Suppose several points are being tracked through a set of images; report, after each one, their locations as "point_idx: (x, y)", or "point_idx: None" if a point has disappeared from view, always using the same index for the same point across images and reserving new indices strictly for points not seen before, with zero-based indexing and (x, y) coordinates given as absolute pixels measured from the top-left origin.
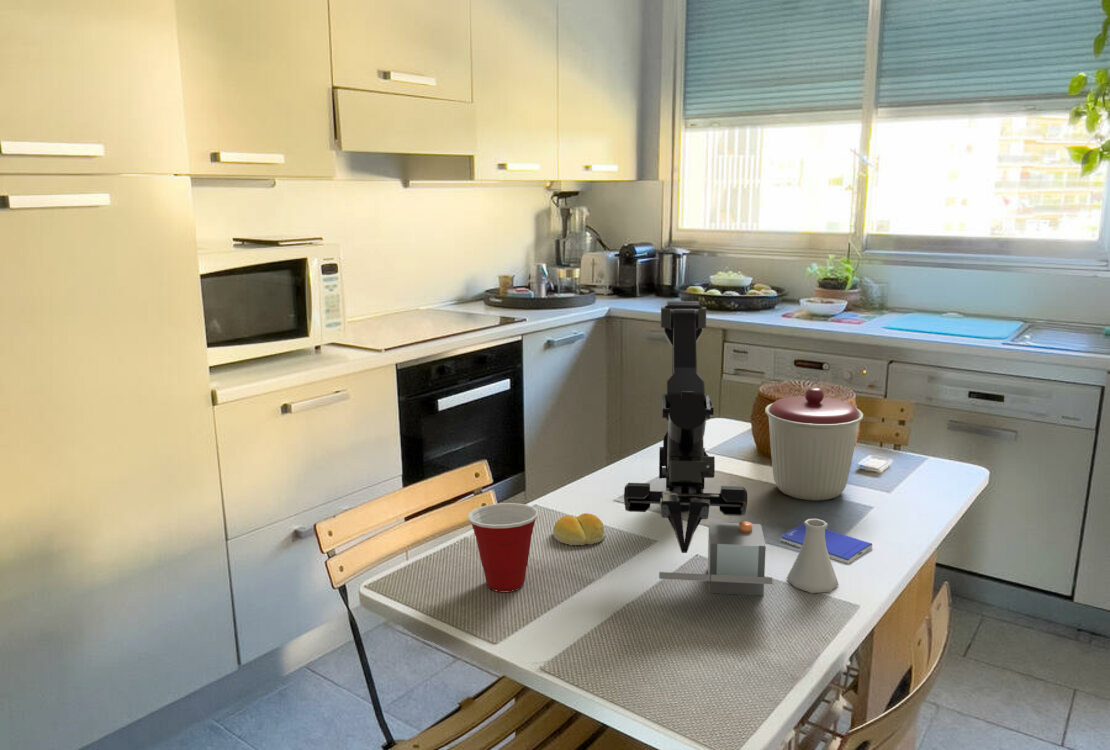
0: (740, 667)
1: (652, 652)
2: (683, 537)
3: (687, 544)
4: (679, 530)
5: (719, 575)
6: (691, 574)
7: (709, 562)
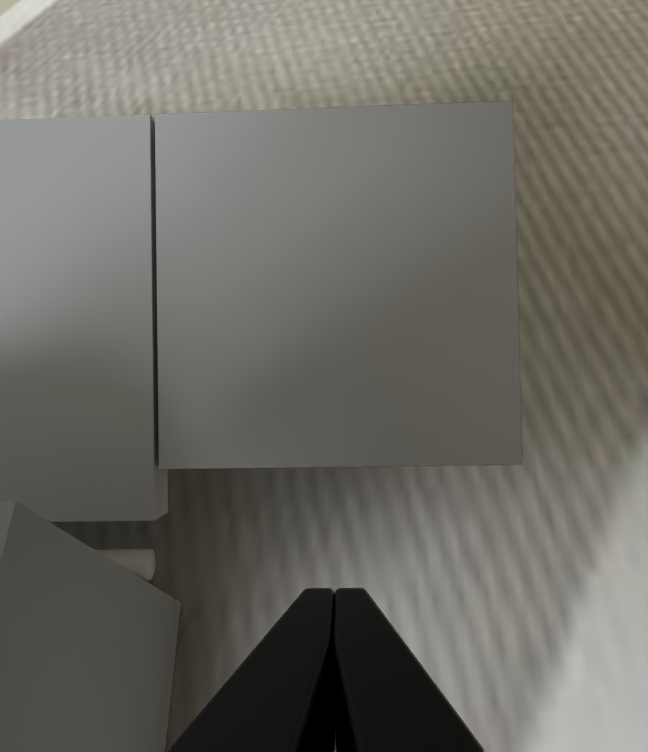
0: (153, 76)
1: (450, 102)
2: (345, 659)
3: (295, 616)
4: (414, 731)
5: (91, 119)
6: (283, 110)
7: (105, 681)
